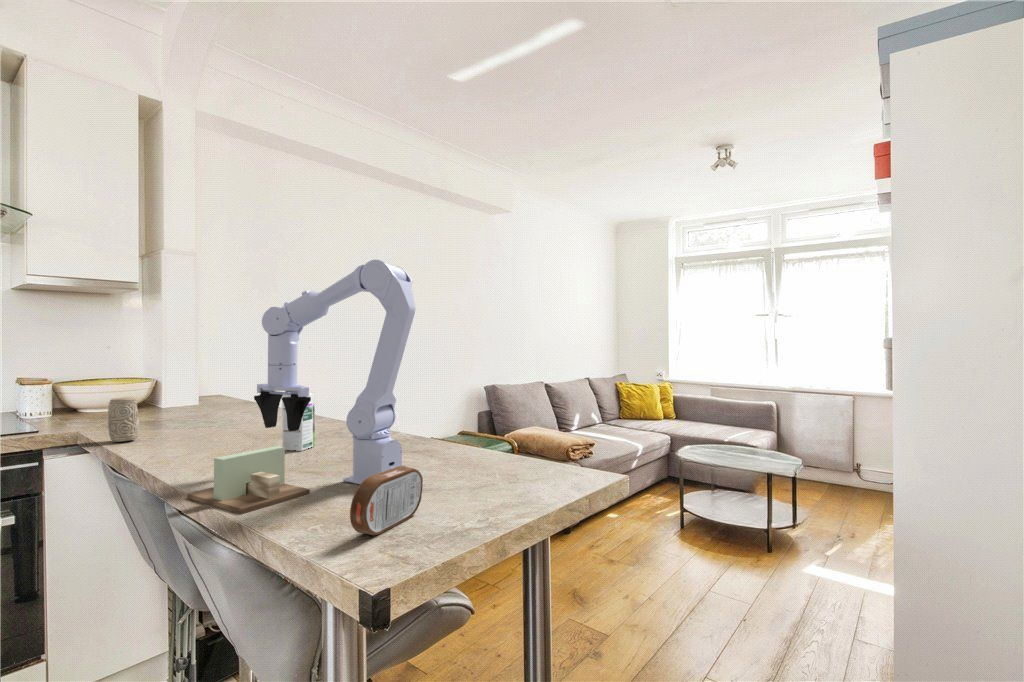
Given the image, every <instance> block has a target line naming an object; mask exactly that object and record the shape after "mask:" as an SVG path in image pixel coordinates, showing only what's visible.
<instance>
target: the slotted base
mask: <svg viewBox="0 0 1024 682" xmlns="http://www.w3.org/2000/svg"><path fill="white" fill-rule="evenodd" d="M279 484H280V476H279V475H275V474H270V473H265V472H258V473H254V474H251V482H249V483H246V495H242V496H239V497H235V498H231V499H227V500H224V501H220V500H216V499H214V486H213V487H210V488H206V489H202V490H201V489H200V490H196V491H193V492H188V493H186V496H187V499H189V500H193V501H196V502H199V503H202V504H207V505H210V506H213V507H216V508H220V509H223V510H227V511H231V512H234V513H237V514H240V515H243V514H246V513H250V512H254V511H256V510H260V509H262V508H266V507H270V506H272V505H275V504H279V503H283V502H285V501H289V500H292V499H293V500H294V499H295V498H298V497H299V498H300V497H302V496H303V497H304V496H305V495H308V494H309V495H310V491H311V490H310V488H307V487H301V486H298V485H293V484H289V483H285V482H284V484H283V485H279Z"/></svg>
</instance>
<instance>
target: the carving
mask: <svg viewBox="0 0 1024 682" xmlns="http://www.w3.org/2000/svg"><path fill="white" fill-rule="evenodd" d="M137 400H138V399H137V398H136V397H133V396H132V397H131V396H129V397H128V396H124V397H114V398H111V399H110V400H109V402H108V405H107V406H108V409H107V410H108V411H107V414H108V416H107V427H108V428H107V430H108V434H109V436H108V437H109V438H110V439H109V440H110V441H111V442H112V443H123V442H128V441H132V440H136V439H138V438H139V437H140V436H139V435H140V421H139V420H140V419H139V409H138V401H137Z"/></svg>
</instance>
